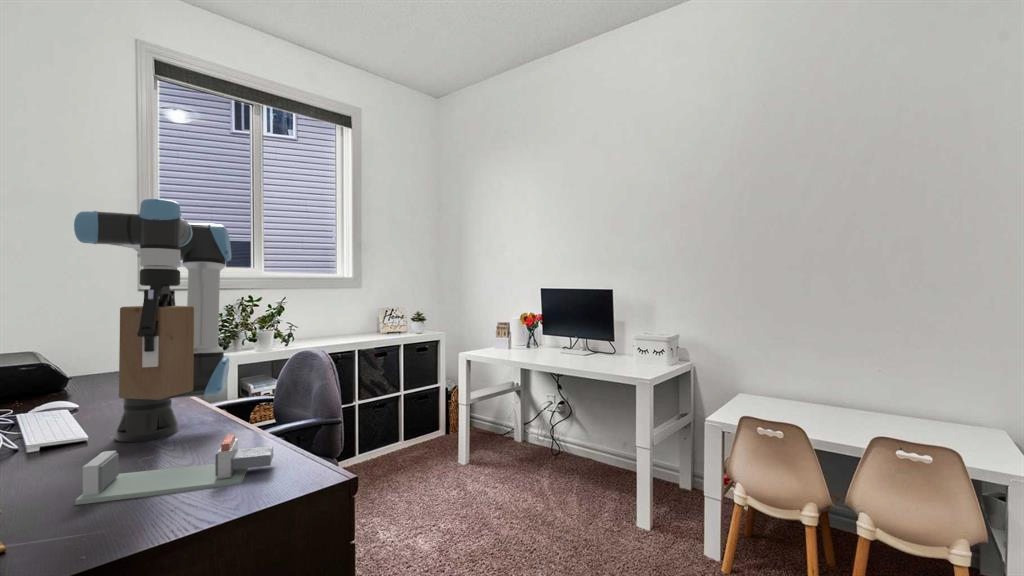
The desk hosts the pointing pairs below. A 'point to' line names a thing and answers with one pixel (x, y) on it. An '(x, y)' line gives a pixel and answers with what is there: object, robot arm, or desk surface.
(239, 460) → the free jaw
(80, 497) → the vise bed
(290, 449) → the desk surface
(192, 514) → the desk surface
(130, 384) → the wooden block
